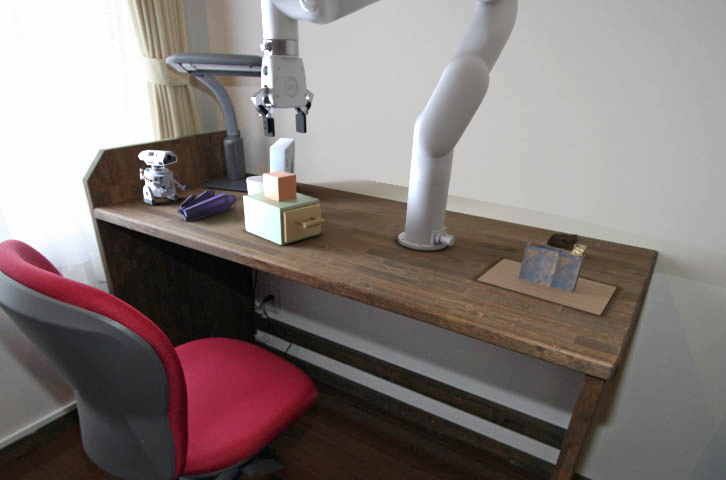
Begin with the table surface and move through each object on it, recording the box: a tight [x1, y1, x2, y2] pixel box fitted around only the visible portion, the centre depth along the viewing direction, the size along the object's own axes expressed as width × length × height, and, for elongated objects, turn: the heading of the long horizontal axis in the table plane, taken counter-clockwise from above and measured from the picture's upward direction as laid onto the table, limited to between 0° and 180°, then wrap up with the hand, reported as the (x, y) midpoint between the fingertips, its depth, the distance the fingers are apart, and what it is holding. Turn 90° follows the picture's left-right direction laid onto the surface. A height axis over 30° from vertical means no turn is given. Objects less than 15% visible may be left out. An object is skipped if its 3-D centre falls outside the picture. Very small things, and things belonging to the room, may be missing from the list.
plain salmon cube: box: [262, 171, 297, 202], centre depth 117 cm, size 6×6×6 cm
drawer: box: [282, 203, 326, 243], centre depth 119 cm, size 18×11×7 cm, turn 47°
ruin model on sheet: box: [476, 241, 618, 316], centre depth 99 cm, size 25×16×10 cm, turn 54°
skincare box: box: [269, 137, 296, 175], centre depth 154 cm, size 21×6×16 cm, turn 179°
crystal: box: [176, 190, 237, 222], centre depth 133 cm, size 7×12×20 cm
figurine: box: [138, 149, 189, 206], centre depth 139 cm, size 9×12×15 cm
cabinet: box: [242, 192, 320, 246], centre depth 121 cm, size 15×13×9 cm
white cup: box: [246, 175, 264, 195], centre depth 134 cm, size 8×8×10 cm
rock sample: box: [546, 233, 583, 251], centre depth 117 cm, size 10×8×9 cm
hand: (285, 134), depth 112 cm, fingers open, 9 cm apart
